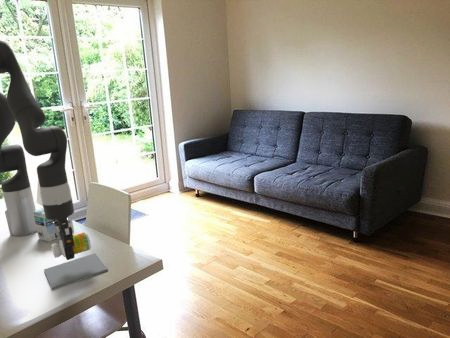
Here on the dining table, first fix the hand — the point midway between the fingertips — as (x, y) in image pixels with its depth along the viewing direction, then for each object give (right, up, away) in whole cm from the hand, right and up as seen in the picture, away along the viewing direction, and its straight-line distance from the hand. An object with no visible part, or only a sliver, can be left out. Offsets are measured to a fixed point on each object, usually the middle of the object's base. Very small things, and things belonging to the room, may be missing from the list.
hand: (68, 254), depth 107 cm
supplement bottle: (+5, +4, +3) cm, 7 cm away
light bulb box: (-17, 0, +30) cm, 34 cm away
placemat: (+1, -5, +2) cm, 6 cm away
